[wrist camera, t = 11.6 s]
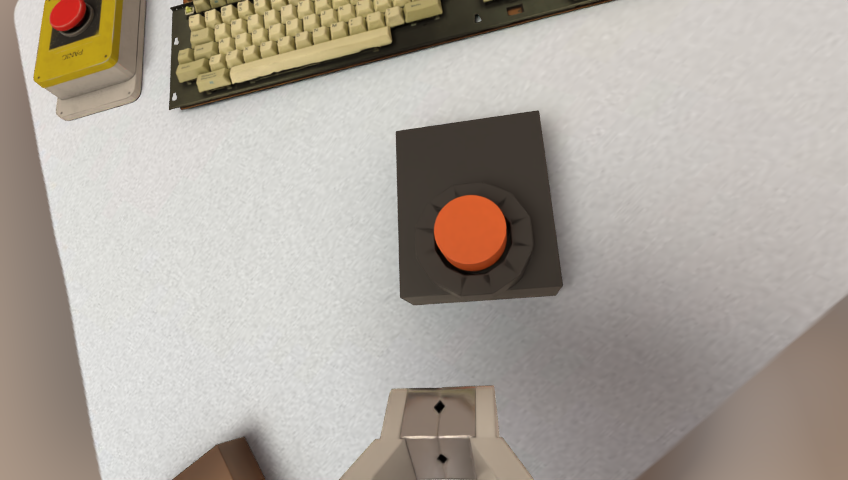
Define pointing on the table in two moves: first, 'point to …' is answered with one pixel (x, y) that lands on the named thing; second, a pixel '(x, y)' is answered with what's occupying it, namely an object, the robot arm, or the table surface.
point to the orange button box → (483, 176)
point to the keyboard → (319, 37)
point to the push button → (471, 232)
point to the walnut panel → (225, 463)
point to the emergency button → (91, 54)
